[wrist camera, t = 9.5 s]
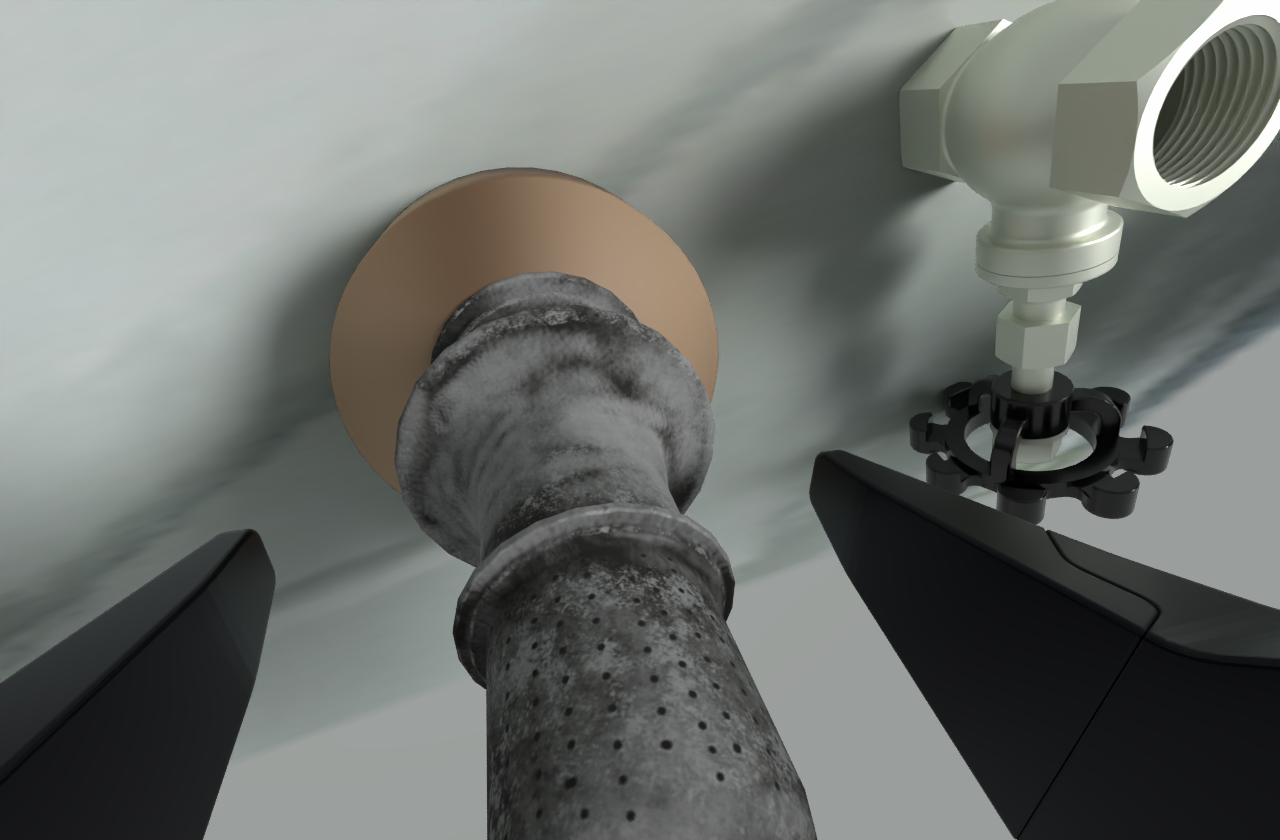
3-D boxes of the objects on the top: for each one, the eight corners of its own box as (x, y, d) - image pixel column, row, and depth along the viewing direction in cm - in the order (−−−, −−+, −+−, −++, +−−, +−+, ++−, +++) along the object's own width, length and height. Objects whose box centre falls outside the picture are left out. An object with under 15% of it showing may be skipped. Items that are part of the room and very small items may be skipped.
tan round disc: (664, 133, 14) (697, 137, 12) (703, 437, 19) (732, 479, 16) (285, 212, 13) (245, 233, 11) (426, 514, 17) (419, 571, 15)
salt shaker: (408, 245, 11) (-197, 1379, 1) (683, 268, 13) (1404, 851, 3) (420, 487, 14) (258, 1485, 4) (647, 481, 16) (954, 1178, 5)
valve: (834, 61, 14) (869, 439, 20) (1062, 32, 9) (1014, 565, 15) (1069, -23, 15) (1032, 373, 21) (1435, -104, 9) (1235, 472, 15)
